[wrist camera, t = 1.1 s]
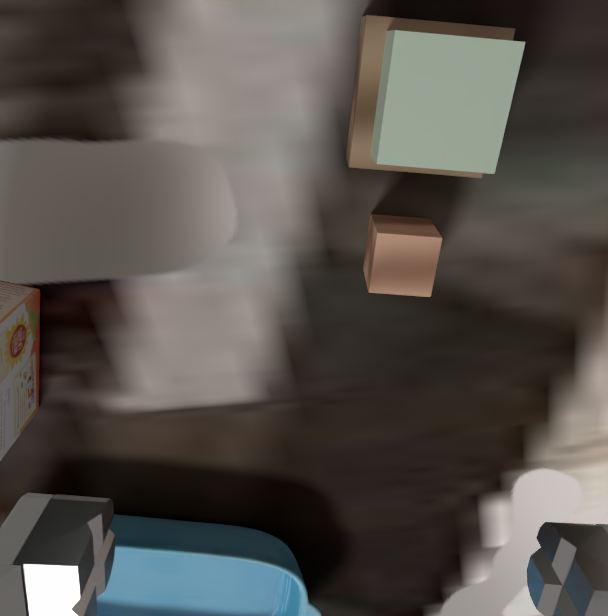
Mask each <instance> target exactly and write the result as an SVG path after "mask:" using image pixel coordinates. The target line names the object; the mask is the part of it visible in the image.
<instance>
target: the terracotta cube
mask: <svg viewBox="0 0 608 616" xmlns="http://www.w3.org/2000/svg"><path fill="white" fill-rule="evenodd" d="M441 243H442V237H441V235H440V234H439V232H438V231H437V229H436V228H435V226H434V225H433V223H432V222H431V220H430V219H427V218H415V217H402V216H389V215H376V214H371V216H370V223H369V230H368V238H367V245H366V252H365V259H364V267H363V270H364V274H365V279H366V283H367V287H368V291H369V292H370V293H383V294H397V295H410V296H424V297H431V292H432V287H433V282H434V277H435V273H436V268H437V263H438V258H439V253H440V248H441Z"/></svg>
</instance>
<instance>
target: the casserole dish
mask: <svg viewBox="0 0 608 616" xmlns="http://www.w3.org/2000/svg"><path fill="white" fill-rule="evenodd" d="M109 529H110V530H111V531H112V532H113V533H114V534H115V555H114V562H113V566H112V571H111V576H110V579H109V581H108V584H107V587H106V590H105V591H104V592H103V593H102V594H100V595H99V596H98V597H97V615H96V616H322V615H321V612H320V610H319V609H318V608H317V607H316V606H315V605H314V604H313V603H311V602H310V601H308V594H307V589H306V586H305V583H304V580H303V577H302V574H301V571H300V569H299V566H298V564H297V561H296V559H295V557H294V555H293V553H292V552H291V550H290V549H289V548H288V546H287V545H286V544H285V543H283V542H282V541H281V540H280V539H278V538H276V537H275V536H272V535H270V534H268V533H265V532H263V531H259V530H255V529H250V528H245V527H240V526H232V525H224V524H214V523H203V522H191V521H180V520H169V519H159V518H148V517H138V516H127V515H114V518H113V520H112V523H111V525H110V528H109Z"/></svg>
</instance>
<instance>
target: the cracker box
mask: <svg viewBox="0 0 608 616" xmlns="http://www.w3.org/2000/svg"><path fill="white" fill-rule="evenodd" d="M39 345H40V289H37V288H32V287H28V286H23V285H18V284H14V283H9V282H4V281H0V461H1V459H2V458H3V457H4V455H5V454H6V452H7V451H8V450H9V448H10V447H11V446H12V444H13V443H14V442H15V440H16V439H17V438H18V436H19V435H20V434H21V432H22V431H23V429H24V428H25V427H26V425H27V424H28V423H29V421H30V420H31V419H32V417H33V416H34V415H35V413H36V412H37V411H38V409H39Z"/></svg>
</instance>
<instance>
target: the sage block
mask: <svg viewBox="0 0 608 616" xmlns="http://www.w3.org/2000/svg"><path fill="white" fill-rule="evenodd" d="M524 46H525V42H520V41H509V40H498V39H487V38H476V37H465V36H454V35H443V34H432V33H421V32H410V31H399V30H392V31H386V38H385V46H384V53H383V61H382V69H381V76H380V84H379V91H378V99H377V106H376V114H375V122H374V129H373V137H372V144H371V152H370V153H371V155H372V157H373V158H374V160H375V162H376V164H382V165H394V166H406V167H418V168H430V169H442V170H454V171H466V172H478V173H490V174H495V169H496V165H497V161H498V157H499V153H500V148H501V144H502V140H503V136H504V131H505V127H506V123H507V119H508V114H509V110H510V106H511V102H512V97H513V93H514V89H515V85H516V80H517V76H518V72H519V68H520V63H521V59H522V55H523V51H524Z"/></svg>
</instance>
